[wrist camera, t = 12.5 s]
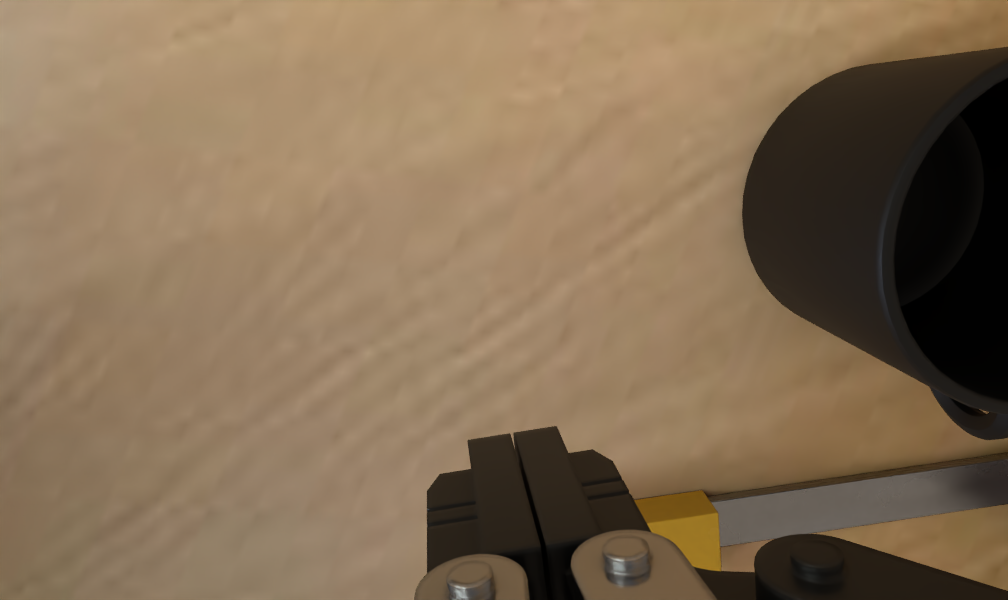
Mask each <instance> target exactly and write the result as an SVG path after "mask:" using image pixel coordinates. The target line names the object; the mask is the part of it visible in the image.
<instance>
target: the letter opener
mask: <svg viewBox="0 0 1008 600" xmlns="http://www.w3.org/2000/svg"><path fill="white" fill-rule="evenodd" d="M634 501H635V503H636V505H637V506H638V508H639V510H640V512H641V514H642V516H643V517H644V519H645V521H646V523H647V525H648V526H649V528H650V530H651V532H652V533H656V534H658V535H661V536H663V537H665V538H667V539H669V540H671V541H672V542H673V543H675V544H676V545H677V546H678V547H679V549H680V550H681V551H682V553H683V554H684V555H685V557H686V558H687V559H688V561H689V562H690V563H691V565H692V566H693V567H697V568H701V569H706V570H713V571H721V552H720V547H723V546H729V545H736V544H743V543H749V542H756V541H763V540H769V539H776V538H780V537H783V536H788V535H795V534H810V533H816V532H823V531H830V530H836V529H843V528H850V527H857V526H863V525H870V524H877V523H883V522H890V521H897V520H903V519H910V518H917V517H923V516H930V515H937V514H944V513H950V512H957V511H964V510H970V509H977V508H984V507H990V506H997V505H1004V504H1008V453H1004V454H997V455H990V456H983V457H976V458H969V459H962V460H955V461H949V462H942V463H935V464H928V465H921V466H914V467H907V468H900V469H893V470H887V471H880V472H873V473H866V474H859V475H852V476H845V477H838V478H832V479H825V480H818V481H811V482H804V483H797V484H790V485H783V486H776V487H770V488H763V489H756V490H749V491H742V492H735V493H728V494H721V495H715V496H708V497H707V496H706V495H705V493H704V492H703V491H702V490H700V491H693V492H686V493H679V494H672V495H665V496H658V497H652V498H645V499H638V500H634Z"/></svg>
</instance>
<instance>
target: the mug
mask: <svg viewBox="0 0 1008 600" xmlns="http://www.w3.org/2000/svg"><path fill="white" fill-rule="evenodd" d="M742 217H743V229H744V238H745V242H746V245H747V249H748V253H749V256H750V258H751V261H752V263H753V265H754V268H755V270H756V272H757V274H758V276H759V277H760V279H761V280H762V282H763V283H764V285H765V286H766V288H767V289H768V290H769V291H770V292H771V294H772V295H773V296H774V297H775V298H776V299H777V300H778V301H779V302H780V303H781V304H782V305H784V306H785V307H786V308H788V309H789V310H791V311H792V312H793V313H795V314H797V315H798V316H800V317H802V318H804V319H806V320H807V321H809V322H811V323H813V324H815V325H817V326H819V327H820V328H822V329H824V330H826V331H828V332H830V333H832V334H833V335H835V336H837V337H839V338H841V339H843V340H844V341H846V342H848V343H850V344H852V345H854V346H856V347H857V348H859V349H861V350H863V351H865V352H867V353H869V354H870V355H872V356H874V357H876V358H878V359H880V360H881V361H883V362H885V363H887V364H889V365H891V366H893V367H894V368H896V369H898V370H900V371H902V372H904V373H906V374H907V375H909V376H911V377H913V378H915V379H917V380H918V381H920V382H922V383H924V384H926V385H928V386H930V388H931V391H932V393H933V394H934V396H935V398H936V400H937V401H938V403H939V404H940V406H941V407H942V408H943V409H944V411H945V412H946V413H947V415H948V416H949V417H950V418H951V419H952V420H953V421H954V422H955V423H956V424H957V425H958V426H960V427H961V428H962V429H963V430H965V431H966V432H967V433H969V434H971V435H973V436H975V437H978V438H981V439H984V440H995V439H1003V438H1008V47H1004V48H996V49H988V50H980V51H972V52H964V53H956V54H948V55H940V56H933V57H925V58H917V59H909V60H901V61H893V62H885V63H877V64H869V65H864V66H859V67H854V68H850V69H847V70H845V71H842V72H839V73H836V74H834V75H832V76H830V77H828V78H826V79H824V80H822V81H820V82H819V83H817V84H815V85H813V86H812V87H810V88H809V89H808V90H806V91H805V92H804V93H802V94H801V95H800V96H799V97H797V98H796V99H795V100H794V101H793V102H792V103H791V104H790V105H789V106H788V107H787V108H786V109H785V110H784V111H783V112H782V113H781V114H780V115H779V116H778V117H777V119H776V120H775V122H774V123H773V124H772V126H771V127H770V128H769V130H768V131H767V133H766V135H765V136H764V138H763V140H762V141H761V143H760V145H759V147H758V149H757V151H756V153H755V155H754V158H753V161H752V163H751V166H750V169H749V172H748V176H747V180H746V185H745V190H744V195H743V211H742ZM979 409H980V410H979ZM981 410H984V411H988V412H989V413H988V414H986V413H984V412H982V411H981Z"/></svg>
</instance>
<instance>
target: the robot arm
mask: <svg viewBox="0 0 1008 600" xmlns="http://www.w3.org/2000/svg"><path fill="white" fill-rule="evenodd" d="M514 446H515V449H514ZM468 448H469V455H470V463H471V469H468V470H462V471H456V472H450V473H443V474H439V476H438V477H437V478H436V480H435V481H434V482H433V484H432V485H431V487H430V488H429V489H428V491H427V574H426V575H425V576H424V577H423V579H422V580H421V581H420V582H419V584H418V586H417V588H416V592H415V597H414V600H1008V591H1006V590H1002V589H999V588H996V587H993V586H990V585H986V584H983V583H980V582H977V581H974V580H971V579H967V578H964V577H961V576H958V575H955V574H951V573H948V572H945V571H942V570H939V569H936V568H932V567H929V566H926V565H923V564H920V563H916V562H913V561H910V560H907V559H904V558H901V557H897V556H894V555H891V554H888V553H885V552H881V551H878V550H875V549H872V548H869V547H866V546H862V545H859V544H856V543H853V542H850V541H846V540H843V539H840V538H836V537H832V536H826V535H819V534H795V535H788V536H783V537H780V538H777V539H774V540H772V541H770V542H768V543H766V544H765V545H764V546H762V547H761V548H760V550H759V551H758V552H757V554H756V556H755V561H754V568H755V572H729V571H713V570H706V569H701V568H697V567H693V566H692V565H691V563H690V562H689V561H688V559H687V558H686V557H685V555H684V554H683V553H682V551H681V550H680V549H679V547H678V546H677V545H676V544H675V543H673V542H672V541H671V540H669V539H667V538H665V537H663V536H661V535H658V534H656V533H652V532H651V530H650V528H649V526H648V525H647V523H646V521H645V519H644V517H643V516H642V514H641V512H640V510H639V508H638V506H637V505H636V503H635V501H634V499H633V497H632V496H631V494H629V490H628V488H627V486H626V485H625V483H624V481H623V480H622V478H621V475H620V474H619V472H618V470H617V468H616V466H615V465H614V463H613V461H611V460H610V459H608V458H606V457H605V456H603V455H601V454H600V453H598V452H596V451H594V450H586V451H580V452H574V453H568V451H567V449H566V447H565V444H564V442H563V440H562V437H561V435H560V433H559V430H558V428H557V426H553V427H547V428H540V429H534V430H528V431H521V432H515V433H514V445H513V442H512V438H511V434H510V433H509V434H503V435H497V436H490V437H484V438H477V439H471V440H468Z"/></svg>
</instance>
